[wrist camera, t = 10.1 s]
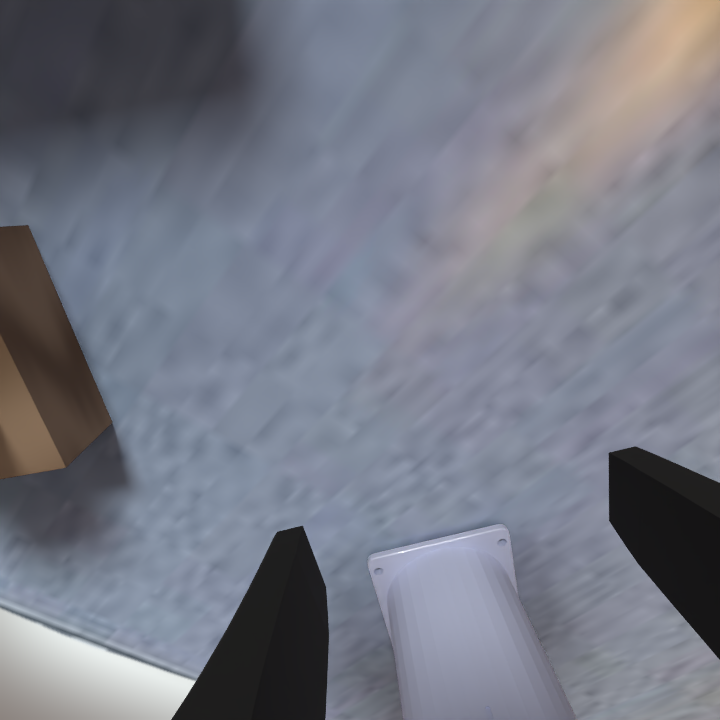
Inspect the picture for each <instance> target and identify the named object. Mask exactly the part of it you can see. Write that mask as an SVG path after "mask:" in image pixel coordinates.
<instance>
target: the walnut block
mask: <svg viewBox="0 0 720 720" xmlns="http://www.w3.org/2000/svg"><path fill="white" fill-rule="evenodd" d="M111 423H112V420H111V418H110V416H109V413H108V411H107V409H106V406H105V404H104V402H103V399H102V397H101V395H100V392H99V390H98V388H97V385H96V383H95V381H94V378H93V376H92V374H91V371H90V369H89V367H88V364H87V362H86V360H85V357H84V355H83V353H82V350H81V348H80V346H79V343H78V341H77V339H76V336H75V334H74V332H73V329H72V327H71V325H70V322H69V320H68V317H67V315H66V313H65V310H64V308H63V306H62V303H61V301H60V299H59V296H58V294H57V292H56V289H55V287H54V285H53V282H52V280H51V278H50V275H49V273H48V271H47V268H46V266H45V264H44V261H43V259H42V257H41V254H40V252H39V250H38V247H37V245H36V243H35V240H34V238H33V236H32V233H31V231H30V229H29V226H28V225H25V226H6V227H0V479H5V478H10V477H16V476H22V475H27V474H33V473H39V472H44V471H50V470H56V469H61V468H66V467H67V466H68V465H69V464H70V463H71V462H72V461H73V460H74V459H75V458H76V457H77V456H79V455H80V454H81V453H82V452H83V451H84V450H85V449H86V448H87V447H88V446H89V445H90V444H91V443H92V442H93V441H94V440H95V439H96V438H97V437H98V436H99V435H100V434H101V433H102V432H103V431H104V430H105V429H106V428H107V427H108V426H109V425H110V424H111Z"/></svg>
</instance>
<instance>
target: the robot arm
mask: <svg viewBox="0 0 720 720" xmlns="http://www.w3.org/2000/svg"><path fill="white" fill-rule="evenodd" d="M609 521H610V523H611V524H612V526H613V527H614V529H615V530H616V532H617V533H618V535H619V536H620V538H621V539H622V541H623V542H624V544H625V545H626V547H627V548H628V550H629V551H630V553H631V554H632V555H633V557H634V558H635V560H636V561H637V563H638V564H639V565H640V566H641V568H642V569H643V570H644V571H645V572H646V574H647V575H648V576H649V577H650V578H651V580H652V581H653V582H654V583H655V584H656V586H657V587H658V588H659V589H660V590H661V591H662V593H663V594H664V595H665V596H666V597H667V599H668V600H669V601H670V602H671V603H672V604H673V606H674V607H675V608H676V609H677V610H678V611H679V613H680V614H681V615H682V616H683V617H684V618H685V620H686V621H687V622H688V623H689V624H690V625H691V627H692V628H693V629H694V630H695V631H696V632H697V634H698V635H699V636H700V637H701V638H702V639H703V641H704V642H705V643H706V644H707V645H708V646H709V648H710V649H711V650H712V651H713V652H714V653H715V655H716V656H717V657H718V658H719V659H720V483H719V482H716V481H714V480H712V479H710V478H707V477H705V476H703V475H700V474H698V473H696V472H694V471H691V470H689V469H687V468H685V467H682V466H680V465H678V464H676V463H673V462H671V461H669V460H667V459H664V458H662V457H660V456H657V455H655V454H653V453H650V452H648V451H645V450H643V449H640V448H638V447H631V448H627V449H623V450H618V451H614V452H610V453H609ZM500 539H502V540H501V541H499V540H500ZM367 563H368V569H369V572H370V575H371V578H372V582H373V585H374V588H375V591H376V595H377V598H378V601H379V604H380V607H381V611H382V614H383V617H384V620H385V624H386V627H387V630H388V633H389V637H390V640H391V643H392V646H393V649H394V656H395V663H396V671H397V678H398V685H399V692H400V700H401V707H402V714H403V720H577V718H576V716H575V714H574V712H573V710H572V708H571V706H570V703H569V701H568V699H567V697H566V695H565V693H564V691H563V689H562V687H561V685H560V683H559V680H558V678H557V676H556V674H555V672H554V670H553V668H552V666H551V664H550V662H549V660H548V657H547V655H546V653H545V651H544V649H543V647H542V645H541V643H540V641H539V639H538V637H537V634H536V632H535V630H534V628H533V626H532V624H531V622H530V620H529V618H528V616H527V614H526V611H525V609H524V607H523V605H522V603H521V601H520V599H519V597H518V590H517V583H516V576H515V569H514V562H513V554H512V547H511V540H510V533H509V531H508V529H507V527H506V526H505V525H503V524H497V525H492V526H488V527H484V528H480V529H475V530H471V531H467V532H463V533H458V534H454V535H450V536H446V537H441V538H437V539H433V540H429V541H424V542H420V543H416V544H412V545H408V546H403V547H399V548H395V549H391V550H386V551H382V552H378V553H374V554H371V555H370V556H369V557H368V559H367ZM377 568H381V569H377ZM328 645H329V628H328V610H327V595H326V586H325V583H324V581H323V578H322V575H321V573H320V570H319V567H318V565H317V562H316V560H315V557H314V554H313V552H312V549H311V546H310V544H309V541H308V538H307V536H306V533H305V530H304V528H303V526H300V527H295V528H291V529H287V530H283V531H279V532H277V533H276V535H275V536H274V538H273V540H272V542H271V544H270V546H269V548H268V550H267V553H266V555H265V557H264V559H263V561H262V563H261V565H260V567H259V569H258V571H257V573H256V575H255V577H254V579H253V581H252V583H251V585H250V587H249V589H248V591H247V593H246V594H245V596H244V598H243V600H242V602H241V604H240V606H239V607H238V609H237V611H236V613H235V615H234V617H233V619H232V621H231V622H230V624H229V626H228V628H227V630H226V631H225V633H224V635H223V637H222V638H221V640H220V642H219V644H218V645H217V647H216V649H215V650H214V652H213V654H212V655H211V657H210V659H209V661H208V662H207V664H206V666H205V667H204V669H203V671H202V672H201V674H200V676H199V677H198V679H197V681H196V682H195V684H194V685H193V687H192V689H191V690H190V692H189V693H188V695H187V697H186V698H185V700H184V701H183V703H182V704H181V706H180V707H179V709H178V710H177V712H176V713H175V715H174V716H173V718H172V719H171V720H325V714H326V693H327V670H328Z"/></svg>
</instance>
